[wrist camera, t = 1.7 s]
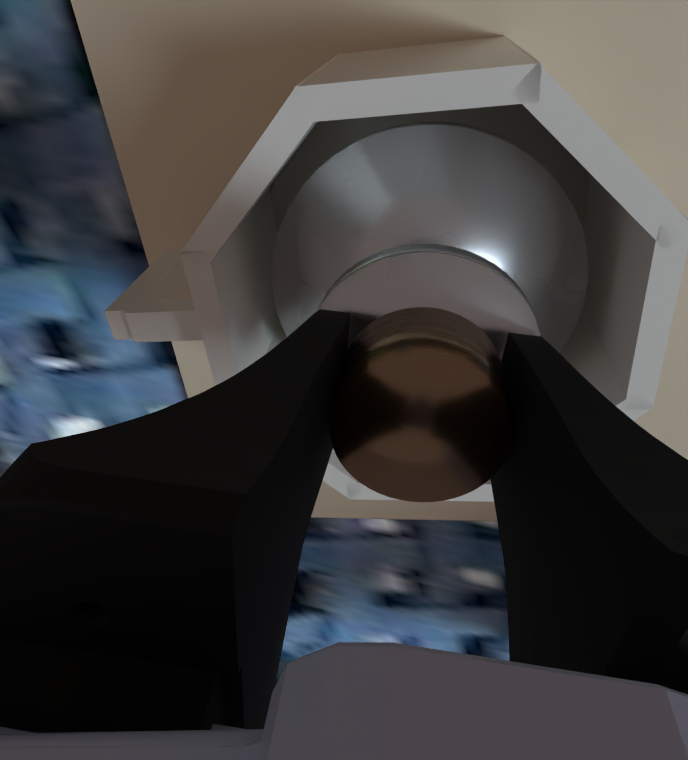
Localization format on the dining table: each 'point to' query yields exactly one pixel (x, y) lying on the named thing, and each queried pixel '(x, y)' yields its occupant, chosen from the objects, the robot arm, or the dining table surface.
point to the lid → (429, 295)
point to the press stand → (379, 111)
